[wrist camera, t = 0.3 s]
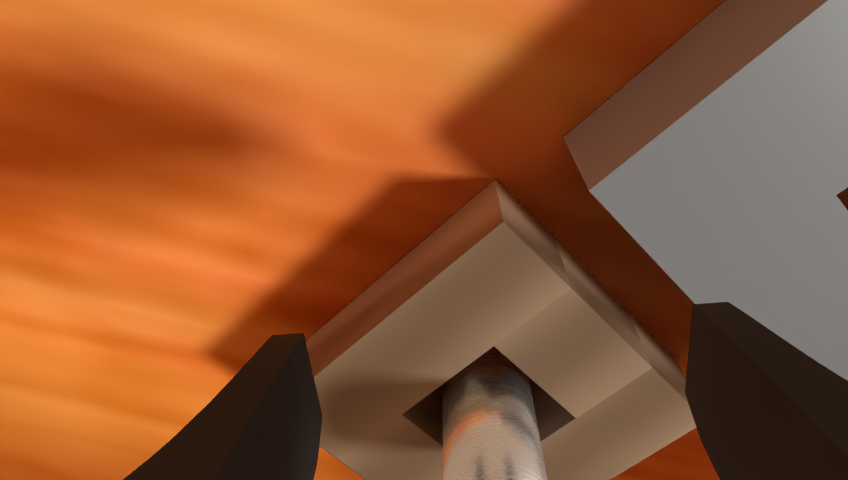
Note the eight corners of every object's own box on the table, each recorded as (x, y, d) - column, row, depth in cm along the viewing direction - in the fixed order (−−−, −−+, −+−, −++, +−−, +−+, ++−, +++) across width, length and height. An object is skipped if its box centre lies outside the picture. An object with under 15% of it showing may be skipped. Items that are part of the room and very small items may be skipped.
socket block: (678, 362, 25) (707, 421, 22) (474, 495, 28) (477, 560, 25) (495, 179, 21) (503, 221, 19) (289, 354, 25) (271, 411, 22)
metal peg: (541, 359, 25) (575, 520, 19) (480, 403, 26) (494, 569, 20) (486, 309, 24) (503, 461, 18) (424, 357, 25) (420, 516, 19)
